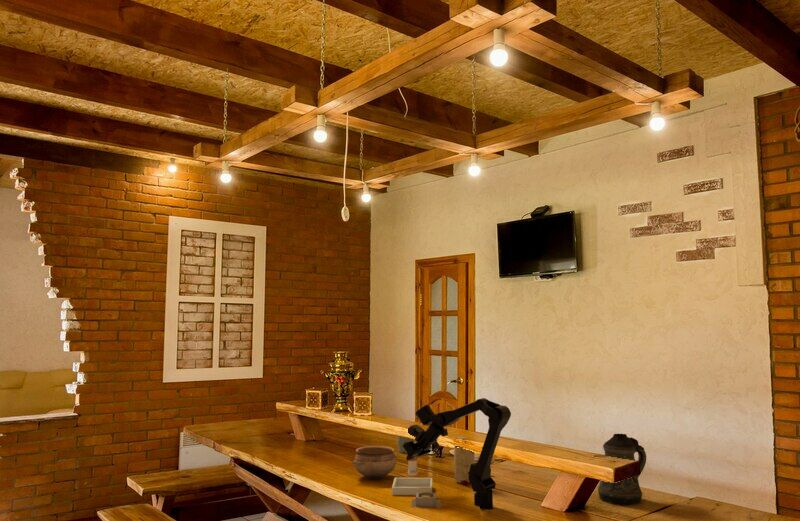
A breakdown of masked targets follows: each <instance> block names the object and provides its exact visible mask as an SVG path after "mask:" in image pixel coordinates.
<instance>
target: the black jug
mask: <svg viewBox="0 0 800 521" xmlns="http://www.w3.org/2000/svg"><path fill="white" fill-rule="evenodd" d="M602 448H603V451H604V456H611V457H617V458H622V459H629V460H634V461H635V462H636V459H635V453H637V455H638V457H637V458H638V459H637V462H638V461H639V462H640V474H639V475H637V476H634V477H632V478H629V479H625V480H622V481H620V482H617V483H610V482H604V481H601V480H600V481H599V484H598V487H597V491H598V496H599V499H600V500H601V501H602V502H604V503H606V504H610V505H616V506H617V505H618V506H635V505H639V504H641V502H642V498H643V492H642V490H641V487H640V483H639V482H640V481H639V477H640V475H641V474H642V473H643V470H644V468H645V467H646V463H647V454H646V451H645V448H644V447H643V446H642V445H640V444H639V440H637V438H633V437H628V435H627V434H626V433H614V434H613V435H612V437H611V438H609V439H608V440H607V441H605V442H604V443H603V445H602Z"/></svg>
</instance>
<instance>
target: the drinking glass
mask: <svg viewBox="0 0 800 521" xmlns="http://www.w3.org/2000/svg"><path fill="white" fill-rule="evenodd" d="M407 441H413V442H415V443H416V441H415V440H413V439H409V438H405V437H401V436H398V435H397V451H399V452H398V453H400V452H406V450H405V449H404V447H403V444H404V443H405V442H407Z"/></svg>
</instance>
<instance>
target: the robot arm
mask: <svg viewBox="0 0 800 521" xmlns="http://www.w3.org/2000/svg"><path fill="white" fill-rule="evenodd" d="M479 411H481V413H483V415H485V416H486V417H488V418H487V420H488V430H487V433H486V434H485V435H486V436H485V439H484V442H483V445H482V448H481V451H480V454H479V458H478V461H476V462H475V463H473V464H471V466H470V471H469V472H468V474H469V477H468V479H469V481H470V483H471V484H470V485H471V489H472V492H474V493H473V504H474V506H476V507H477V506H478V507H479V510H493V509H494V500H493V493H494V492H493V491H494V489H496V485H497V483H496V481H495V480H494V479H493V478H492V474H491V473H492V468H491V462H492V460H493V458H494V457H493V456H494V454H495V451H496V448H497V444H498V442H499V438H500V436H501V434H502V433H501V432H502V431H503V429H504V428H505V427H506V426H507V424H508V423H509V421H510V418H511V416H512V413H511V412H512V411H511V410H510V408H509V407H508V406H507V405H501V404H499V403H497V402H495V401H492V400H489V399H488V398H485V397H482V398H478V399H476V400H475V401H471V402H469V403H467V404H464V405H462V406H460V407H457V408H455V409H451V410H446V411H441V412H438V413H436V414H435V412H434V411H433V410H432V408H431V406H430V405H429V404H424V406H422V407H420V408H419V409H417V410H416V412H415V416H416V417H417V419H418V420H419V422H420V423H421V425H423V426H426V427H427V428H426V429H424V428H422V426H420V425H419V424H413V425H410V426H409V427H407V428H408V433H409V434H410V435H412V436H414V437H415V443H414V442H413V441H407V442H405V443H404V444H403V447H404V449H405V450H406V452H407V453H406V454H407V455H406V459H405V460H406V461H408V460H411V459H413V458H415V457H417V458H419V457H420V458H421V457H422V456H424V455H427V454H429V453H431V450H432V451H433V452H435V451H437V450H438V449H439V448H440V444H439V442H438V439H439V437H445V436H446V437H447V436H448V435H449V434H448V433H449V432H448V428H445V427H449V426H452V425H454V424H455V423H458V421H459V420H460V419H462V418H464V417H466V416H469V415H471V414H474V413H476V412H479Z"/></svg>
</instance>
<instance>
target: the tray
mask: <svg viewBox="0 0 800 521" xmlns="http://www.w3.org/2000/svg"><path fill="white" fill-rule="evenodd" d="M422 491H430V492H433V477H394V479H393V483H392V486H391V495H392V496H394V495H395V496H416V493H419V492H422Z"/></svg>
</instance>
